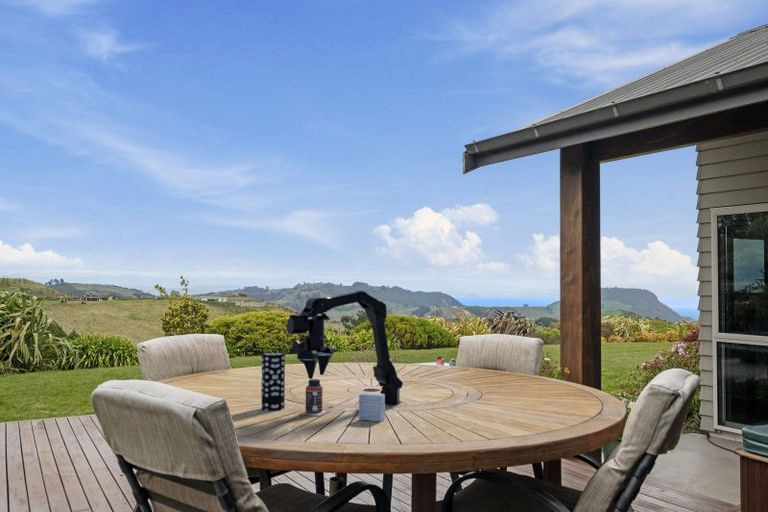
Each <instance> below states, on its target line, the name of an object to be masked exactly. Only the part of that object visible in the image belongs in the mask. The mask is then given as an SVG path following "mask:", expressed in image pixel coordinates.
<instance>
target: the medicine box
mask: <svg viewBox="0 0 768 512" xmlns="http://www.w3.org/2000/svg"><path fill="white" fill-rule="evenodd" d="M385 405H386V404H385V394H380V393H379V392H378V393H376V392H375V393H374V392H372V393H371V392H362V393H360V394H359V395H358V407H359V408H358V413H359V414H358V415H359V418H358V421H363V420H370V421H369V422H377V421H379V422H383V421H384V420H386V407H385Z"/></svg>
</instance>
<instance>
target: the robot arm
mask: <svg viewBox="0 0 768 512" xmlns="http://www.w3.org/2000/svg"><path fill="white" fill-rule="evenodd" d="M354 303H358V305H359V307H361V308H362V309H363V310H364V311H365V315H366V318H367V321H369V323H370V325H371V328H372V334H373V335H372V336H373V340H374V341H373V342H374V348H375V353H376V361H377V363H376V366H373V367H372V370H373V377H374V378H375V379H376V381H377V382H378V385H379V387H381V391H380V392H379V394H385V405H387V406H388V405H389V406H397V405H399V404H401V402H402V401H401V400H400V389H402V388H403V384H404V382H403V381H402V380H401V379H400V378H399V377H398V373H397V371H396V367H395V366H394V364H393V363H392V361H391V357H390V352H389V346H388V339H387V331H386V326H385V323H386V319H387V317H388V314H387V313H388V309H387V305H386V303H385V302H384V301H381V300H378V299H377V298H375V297H373V296H371V295H370V294H368V293H367V292H366V291H365V290H355V291H353V292H347V293H344V294H343V293H342V294H339V295H335V296H334V295H333V296H330V297H310V298H308V299H307V301H306V303H305V306H304V308H303V310H302V311H301V312H300V314H289V317H288V320H287V323H286V331H287V334H288V335H300V334H301V335H302V334H303V335H304V334H306V333H307V335H306V336H305V337H304V339H305V340H302V341H299V340H298V339H297V340H294V341H292V343H291V350H293V351H294V354H297V355H296V357H297V358H296V359H297V360H299V362H301V363H303V365H304V367H305V369H306V373H307V376H308V380H311V379H314V374H315V371H316V367H317V364H318V371H319V375H320V376H323V375H324V374H325V372H326V369H327V367H328V365H329V362H330V360H331V358H332V357H333V355H334V354H335V348H334V347H333V346H332V345H325V339H327V335H326V334H325V321H328V320H329V321H330V320H331V317H329V316H328V315H327V314H326V312H329V311H330V310H332V309H334V308H337V307H341V306H346V305H350V304H354Z"/></svg>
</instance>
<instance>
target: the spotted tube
mask: <svg viewBox="0 0 768 512" xmlns="http://www.w3.org/2000/svg"><path fill="white" fill-rule="evenodd" d="M285 361H286V353H285V352H266V353H261V411H266V412H267V411H268V412H276V411H277V410H278V411H283V410H285V407H286V406H285V403H286V402H285V396H286V395H285V393H286V392H285V391H286V389H285V386H286V385H285V383H286V382H285V381H286V380H285V379H286V375H285V374H286V362H285ZM282 409H283V410H282Z"/></svg>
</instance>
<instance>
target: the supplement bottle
mask: <svg viewBox="0 0 768 512" xmlns="http://www.w3.org/2000/svg"><path fill="white" fill-rule="evenodd" d="M323 391H324V390H323V386H322V385H321V380H320V379H318V378H317V379H316V378H312V379H308V385H307V386H306V388H305V411H306V412H307V413H320V412H322V410H323Z"/></svg>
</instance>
